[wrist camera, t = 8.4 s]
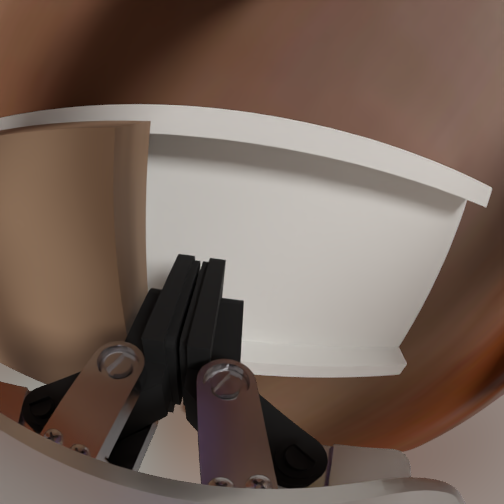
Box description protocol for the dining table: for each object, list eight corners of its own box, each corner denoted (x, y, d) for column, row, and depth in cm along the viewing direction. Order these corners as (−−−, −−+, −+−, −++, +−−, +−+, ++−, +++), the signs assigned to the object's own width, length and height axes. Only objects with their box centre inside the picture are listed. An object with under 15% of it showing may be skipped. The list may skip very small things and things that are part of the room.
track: (456, 170, 12) (520, 203, 7) (384, 341, 17) (410, 399, 13) (-20, 122, 10) (-77, 141, 5) (4, 285, 15) (-31, 325, 11)
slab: (171, 118, 9) (115, 127, 5) (166, 340, 14) (145, 414, 10) (-23, 132, 8) (-86, 156, 4) (6, 299, 13) (-31, 345, 9)
